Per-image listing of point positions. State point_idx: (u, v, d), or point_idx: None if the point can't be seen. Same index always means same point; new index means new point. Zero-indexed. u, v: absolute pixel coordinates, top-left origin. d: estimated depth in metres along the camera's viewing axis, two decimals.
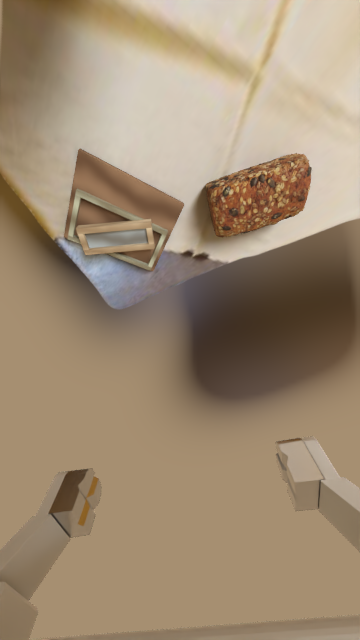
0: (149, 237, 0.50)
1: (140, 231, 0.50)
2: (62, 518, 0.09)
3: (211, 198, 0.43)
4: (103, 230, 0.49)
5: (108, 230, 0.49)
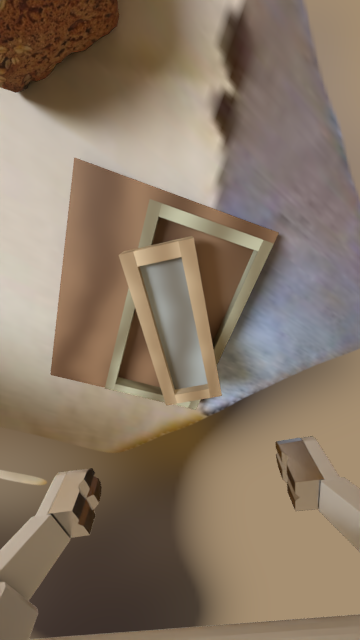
0: (161, 255, 0.18)
1: (155, 280, 0.19)
2: (62, 518, 0.09)
3: None
4: (161, 360, 0.22)
5: (159, 351, 0.21)
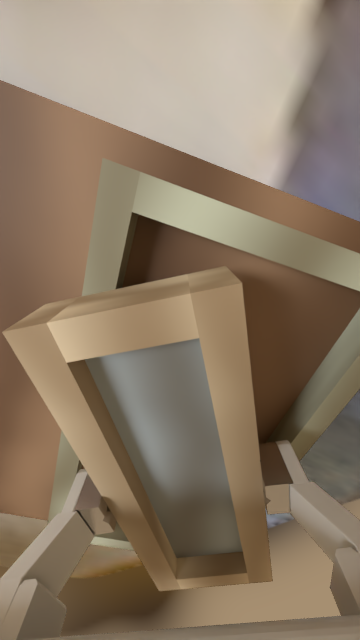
0: (136, 335, 0.06)
1: (125, 382, 0.07)
2: (88, 515, 0.08)
3: None
4: (146, 535, 0.10)
5: (141, 523, 0.09)
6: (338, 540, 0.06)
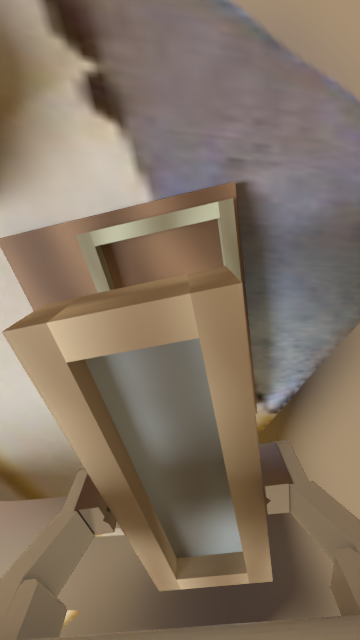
0: (136, 335, 0.06)
1: (125, 382, 0.07)
2: (87, 515, 0.08)
3: None
4: (146, 536, 0.10)
5: (141, 523, 0.09)
6: (338, 540, 0.06)
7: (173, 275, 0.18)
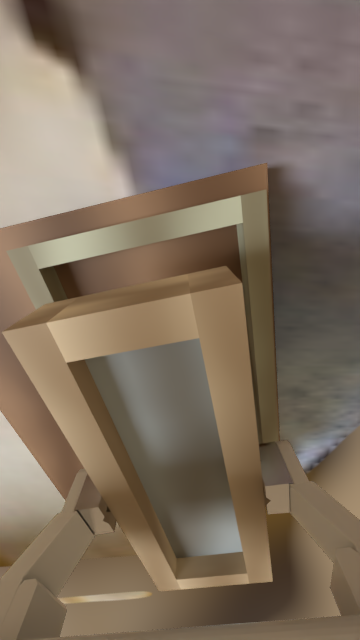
0: (136, 335, 0.06)
1: (125, 382, 0.07)
2: (87, 515, 0.08)
3: None
4: (146, 536, 0.10)
5: (141, 523, 0.09)
6: (338, 540, 0.06)
7: None
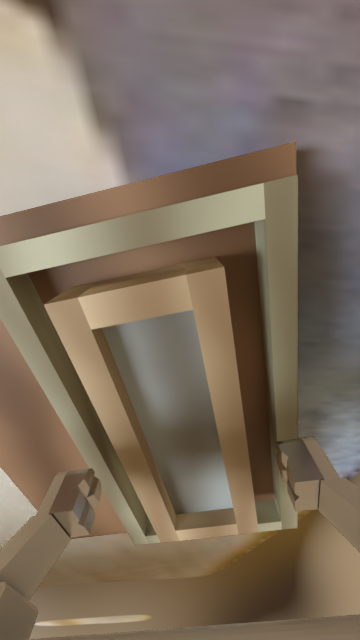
0: (145, 307, 0.07)
1: (134, 349, 0.09)
2: (62, 518, 0.09)
3: None
4: (150, 486, 0.12)
5: (146, 474, 0.11)
6: None
7: None
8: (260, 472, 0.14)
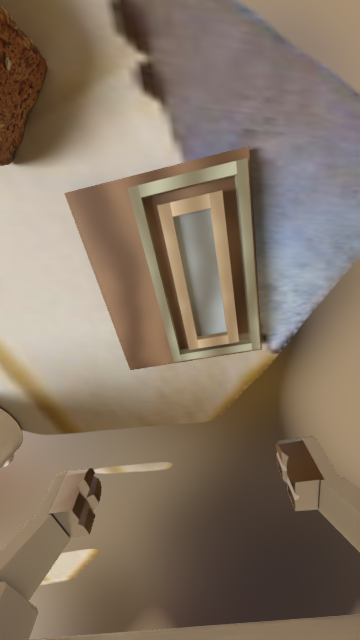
0: (193, 206, 0.21)
1: (185, 231, 0.22)
2: (62, 518, 0.09)
3: None
4: (187, 305, 0.25)
5: (186, 297, 0.25)
6: None
7: None
8: (241, 316, 0.28)
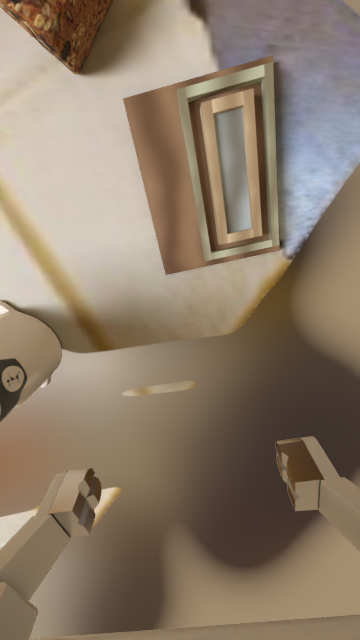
0: (230, 103, 0.26)
1: (221, 129, 0.28)
2: (62, 518, 0.09)
3: (51, 21, 0.21)
4: (220, 199, 0.30)
5: (220, 191, 0.30)
6: None
7: None
8: (262, 216, 0.33)
